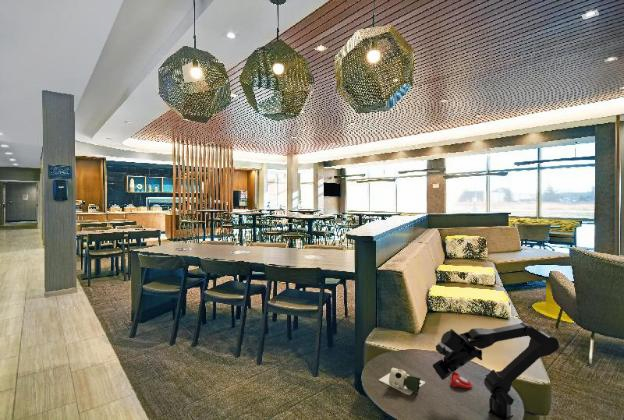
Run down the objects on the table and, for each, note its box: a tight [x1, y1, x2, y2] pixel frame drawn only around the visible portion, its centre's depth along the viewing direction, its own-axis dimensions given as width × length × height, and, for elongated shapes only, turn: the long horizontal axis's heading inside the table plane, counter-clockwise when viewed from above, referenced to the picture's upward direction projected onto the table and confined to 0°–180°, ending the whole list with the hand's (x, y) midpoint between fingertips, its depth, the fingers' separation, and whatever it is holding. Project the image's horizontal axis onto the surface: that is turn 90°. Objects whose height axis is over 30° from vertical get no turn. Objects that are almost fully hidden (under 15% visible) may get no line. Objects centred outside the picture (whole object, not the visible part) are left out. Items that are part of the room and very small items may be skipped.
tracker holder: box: [449, 370, 473, 390], centre depth 149 cm, size 12×4×10 cm
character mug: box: [389, 367, 421, 394], centre depth 145 cm, size 11×7×13 cm
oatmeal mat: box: [378, 372, 426, 396], centre depth 151 cm, size 16×14×1 cm
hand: (436, 372), depth 138 cm, fingers closed
